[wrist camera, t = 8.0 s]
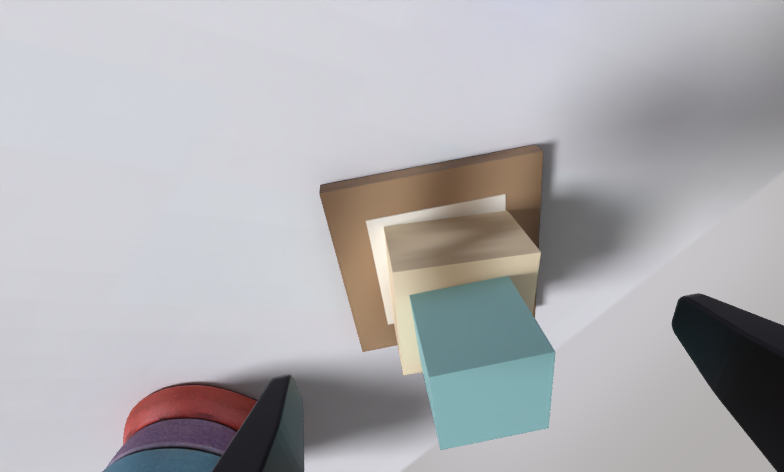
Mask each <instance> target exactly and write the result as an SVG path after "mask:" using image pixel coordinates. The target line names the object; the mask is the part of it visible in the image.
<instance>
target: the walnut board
mask: <svg viewBox="0 0 784 472" xmlns="http://www.w3.org/2000/svg"><path fill="white" fill-rule="evenodd" d="M542 165H543V151H542V150H541V149H539V148H538V147H537V146H535V145H531V146H525V147H520V148H515V149H510V150H504V151H499V152H494V153H488V154H483V155H478V156H472V157H467V158H462V159H457V160H451V161H446V162H441V163H435V164H430V165H425V166H419V167H414V168H409V169H403V170H398V171H393V172H388V173H382V174H377V175H372V176H366V177H361V178H356V179H350V180H345V181H340V182H334V183H329V184H324V185H320V193H319V194H320V197H321V201H322V205H323V208H324V212H325V216H326V219H327V223H328V227H329V230H330V234H331V238H332V241H333V245H334V249H335V252H336V256H337V260H338V263H339V267H340V271H341V274H342V278H343V282H344V285H345V289H346V293H347V296H348V300H349V304H350V307H351V311H352V315H353V318H354V322H355V326H356V329H357V333H358V337H359V340H360V344H361V348H362V351H363V352H365V351H370V350H375V349H380V348H385V347H390V346H395V345H398V343H397V337H396V331H395V326H394V319H393V310H392V301H391V291H390V282H389V273H388V264H387V254H386V245H385V236H384V226H392V225H400V224H407V223H415V222H423V221H430V220H438V219H446V218H453V217H461V216H469V215H476V214H484V213H492V212H500V211H507V210H508V212H509V213H510V214H511V215H512V217H513V218H514V219H515V220H516V222H517V223H518V224H519V225H520V227H521V228H522V229H523V230H524V232H525V233H526V234H527V235H528V237H529V238H530V239H531V240H532V242H533V243H534V244H535V245H536V247H537V248H538V246H539V226H540V206H541V185H542ZM536 287H537V286H536ZM535 307H536V293H535V301H534V308H533V316H534V318H535Z"/></svg>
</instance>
